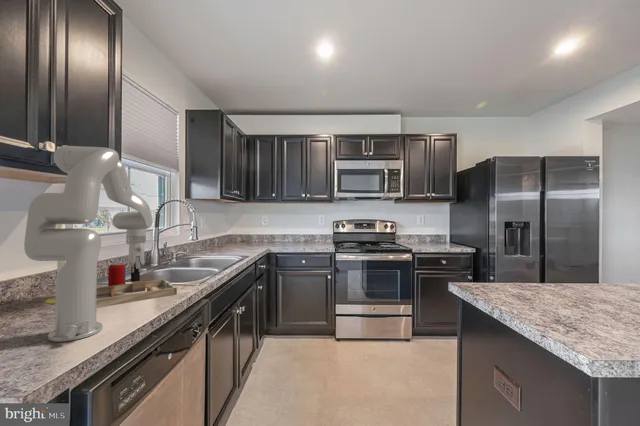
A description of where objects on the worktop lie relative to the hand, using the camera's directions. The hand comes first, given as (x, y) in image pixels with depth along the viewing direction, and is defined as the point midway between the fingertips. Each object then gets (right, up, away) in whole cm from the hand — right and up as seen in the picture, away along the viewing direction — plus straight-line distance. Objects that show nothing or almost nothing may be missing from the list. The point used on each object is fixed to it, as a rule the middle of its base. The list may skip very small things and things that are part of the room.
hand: (135, 281), depth 131 cm
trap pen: (+1, -6, -2) cm, 6 cm away
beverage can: (-14, -6, +9) cm, 18 cm away
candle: (-25, -6, -10) cm, 27 cm away
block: (-2, -6, +5) cm, 8 cm away
